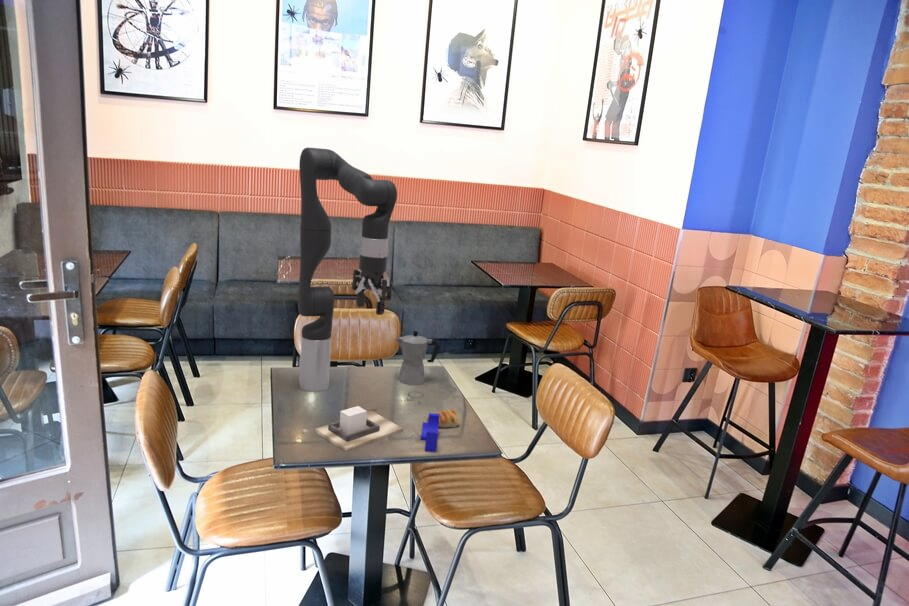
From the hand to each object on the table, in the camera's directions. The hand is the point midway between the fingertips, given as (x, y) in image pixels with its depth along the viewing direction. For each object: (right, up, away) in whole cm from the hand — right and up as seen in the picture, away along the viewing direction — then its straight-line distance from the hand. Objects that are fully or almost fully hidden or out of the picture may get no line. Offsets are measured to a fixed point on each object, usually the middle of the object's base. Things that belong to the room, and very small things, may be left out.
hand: (370, 310), depth 175 cm
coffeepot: (+10, -25, +40) cm, 49 cm away
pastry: (+17, -34, +11) cm, 40 cm away
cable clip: (+16, -37, -2) cm, 40 cm away
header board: (-3, -34, 0) cm, 34 cm away
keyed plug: (-5, -33, -2) cm, 34 cm away
